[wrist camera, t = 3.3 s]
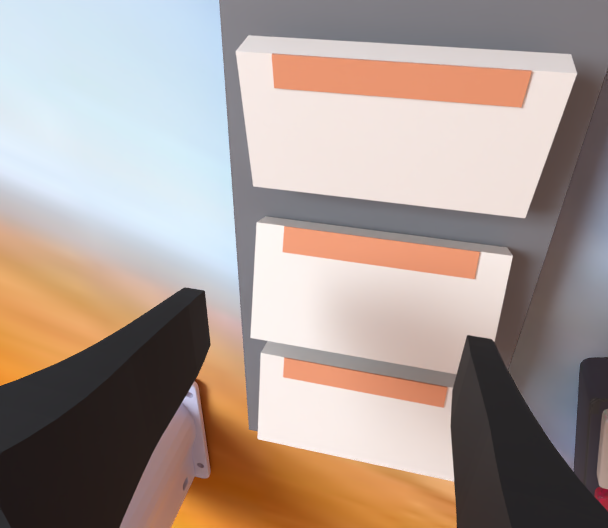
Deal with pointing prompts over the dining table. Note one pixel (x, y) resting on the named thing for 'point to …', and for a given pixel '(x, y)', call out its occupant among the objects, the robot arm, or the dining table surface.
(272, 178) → the white tile
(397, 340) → the block
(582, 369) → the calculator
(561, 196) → the grey flat board
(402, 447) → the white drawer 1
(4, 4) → the dining table surface
